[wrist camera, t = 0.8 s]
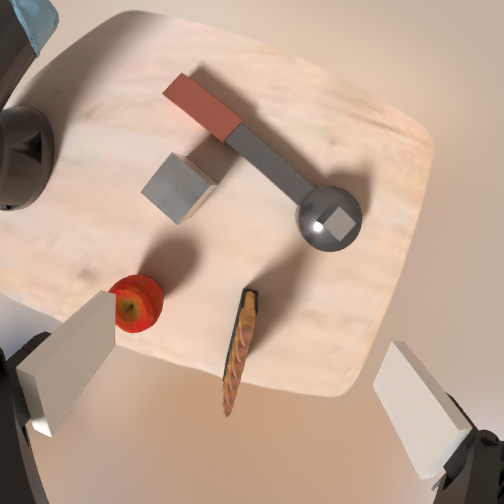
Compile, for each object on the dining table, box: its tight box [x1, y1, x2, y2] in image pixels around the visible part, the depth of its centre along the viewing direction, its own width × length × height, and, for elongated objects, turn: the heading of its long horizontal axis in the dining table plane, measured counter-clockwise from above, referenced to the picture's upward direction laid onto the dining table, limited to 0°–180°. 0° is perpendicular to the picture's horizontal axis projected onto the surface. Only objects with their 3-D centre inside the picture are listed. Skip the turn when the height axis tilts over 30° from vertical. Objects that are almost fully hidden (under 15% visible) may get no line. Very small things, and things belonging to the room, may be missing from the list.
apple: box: [108, 275, 164, 333], centre depth 34 cm, size 6×6×8 cm
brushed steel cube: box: [141, 152, 218, 225], centre depth 32 cm, size 5×5×6 cm
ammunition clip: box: [222, 289, 258, 417], centre depth 33 cm, size 11×2×12 cm, turn 167°
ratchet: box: [162, 73, 362, 252], centre depth 31 cm, size 26×7×6 cm, turn 48°
